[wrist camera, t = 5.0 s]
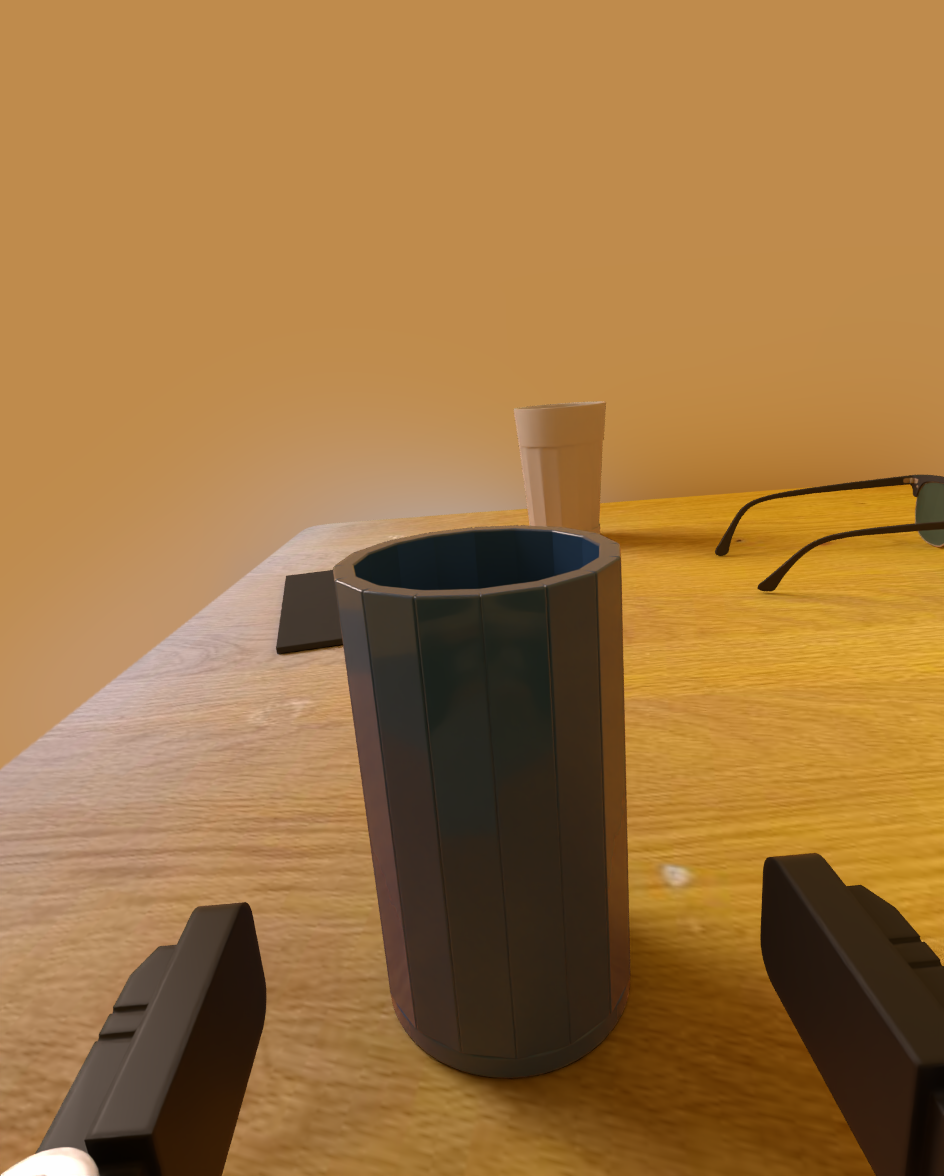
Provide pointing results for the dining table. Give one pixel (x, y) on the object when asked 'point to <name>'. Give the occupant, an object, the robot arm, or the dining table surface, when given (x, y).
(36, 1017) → the dining table surface
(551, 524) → the cup
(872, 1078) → the robot arm
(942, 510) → the sunglasses
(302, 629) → the mat
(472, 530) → the tumbler
